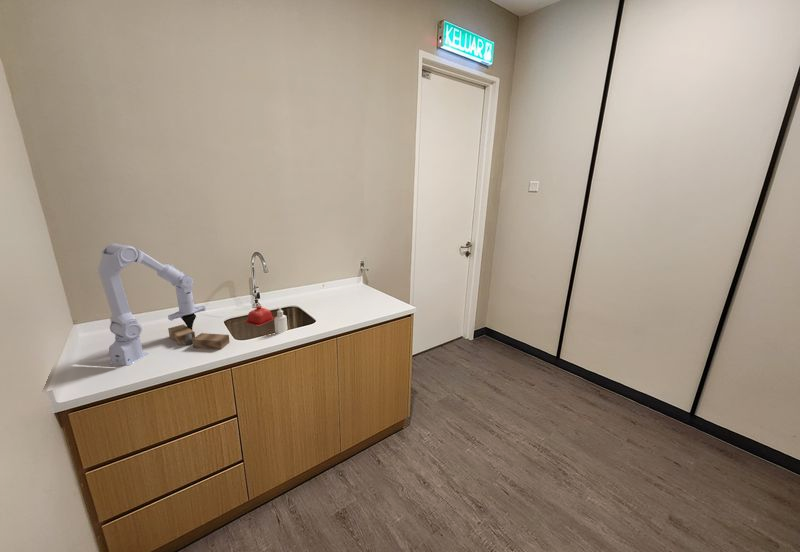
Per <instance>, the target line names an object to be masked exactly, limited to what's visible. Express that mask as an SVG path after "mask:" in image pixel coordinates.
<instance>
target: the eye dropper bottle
mask: <svg viewBox="0 0 800 552" xmlns="http://www.w3.org/2000/svg"><path fill="white" fill-rule="evenodd" d="M276 312H277V313H276V314H277V316H275V319H274V320H273V321H274V333H275V334H278V333H279V334H283V333H284V332H287V331H288V318H287V317H288V316H287V315H285V314H284V310H282V308H281V307H279V308H278V310H277V311H276Z"/></svg>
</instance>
